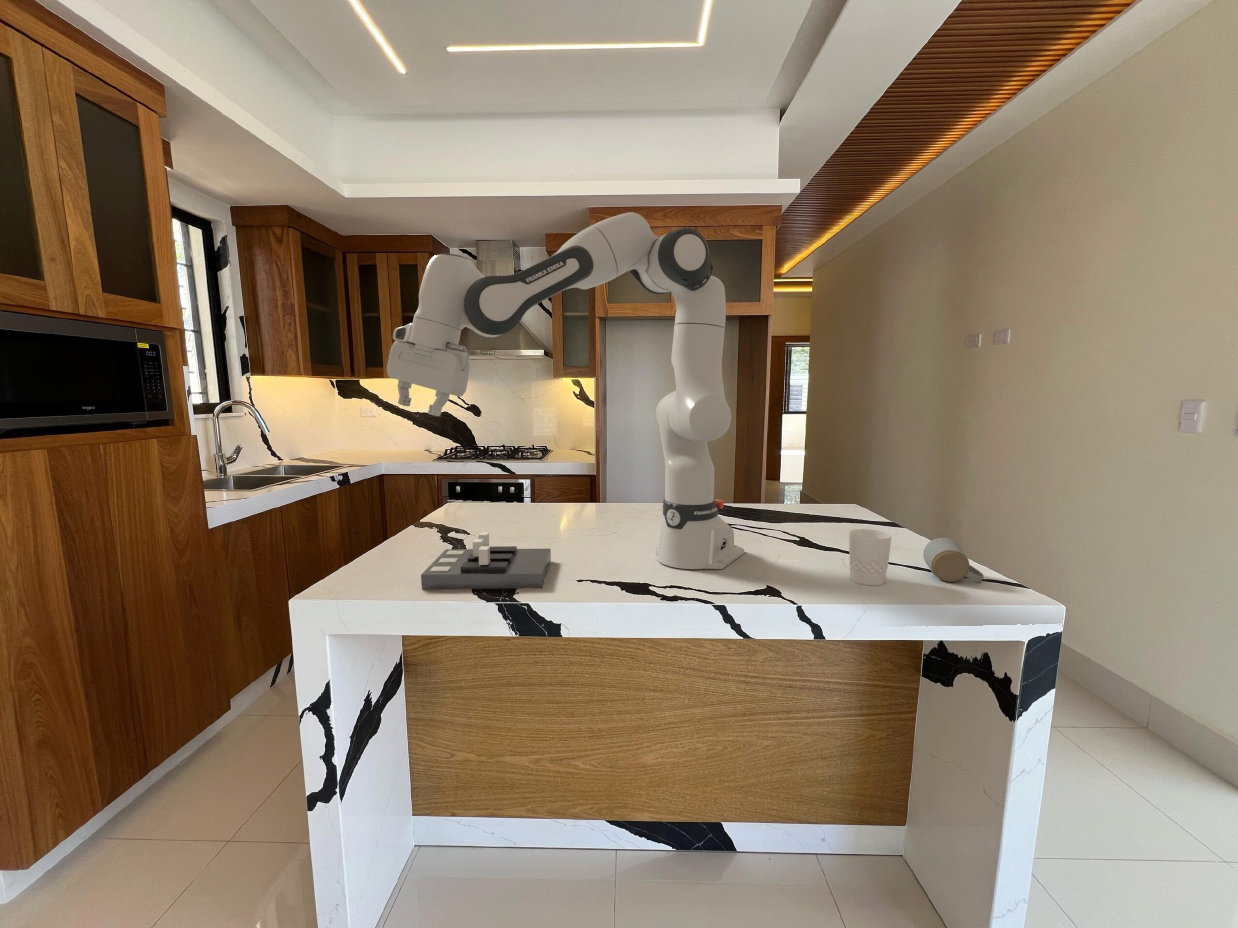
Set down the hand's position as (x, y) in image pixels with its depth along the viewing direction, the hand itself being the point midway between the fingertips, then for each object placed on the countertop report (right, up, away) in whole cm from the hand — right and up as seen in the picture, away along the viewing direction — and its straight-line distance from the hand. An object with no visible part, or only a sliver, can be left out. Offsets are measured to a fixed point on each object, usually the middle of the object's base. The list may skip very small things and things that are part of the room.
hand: (418, 410), depth 106 cm
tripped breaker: (+11, -31, +7) cm, 33 cm away
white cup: (+90, -35, +9) cm, 97 cm away
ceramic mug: (+109, -35, +10) cm, 115 cm away
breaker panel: (+11, -34, +13) cm, 38 cm away
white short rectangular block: (+8, -29, +17) cm, 35 cm away
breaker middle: (+9, -30, +12) cm, 33 cm away
